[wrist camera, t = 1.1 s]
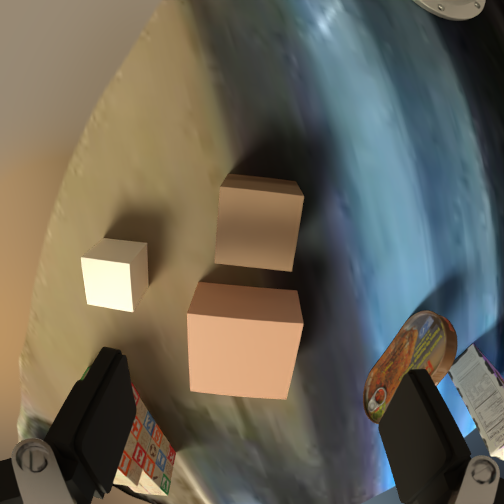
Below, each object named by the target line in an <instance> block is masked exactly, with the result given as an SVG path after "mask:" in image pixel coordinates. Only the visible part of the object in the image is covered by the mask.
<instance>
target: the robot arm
mask: <svg viewBox="0 0 504 504" xmlns="http://www.w3.org/2000/svg"><path fill="white" fill-rule="evenodd" d="M412 1H414V2H415V3H416V4H418V5H419V6H420V7H422V8H424V9H425V10H427V11H428V12H430V13H432V14H434V15H437V16H439V17H442V18H445V19H448V20H454V21H462V20H468V19H471V18H473V17H475V16H477V15H478V14H479V13H480V12H481V11H482V10H483V8H484V5H485V1H486V0H412ZM136 411H137V408H136V403H135V399H134V394H133V389H132V384H131V379H130V374H129V369H128V363H127V358H126V356H125V355H122V353H121V351H120V350H118V349H113V348H108V347H103V348H102V349H101V351H100V352H99V354H98V356H97V357H96V359H95V361H94V362H93V364H92V366H91V367H90V369H89V371H88V373H87V374H86V376H85V378H84V380H78V381H77V382H76V383H75V385H74V386H73V388H72V390H71V392H70V393H69V395H68V397H67V399H66V400H65V402H64V404H63V406H62V407H61V409H60V411H59V413H58V415H57V416H56V418H55V420H54V422H53V424H52V426H51V427H50V429H49V431H48V433H47V435H46V437H45V439H44V441H42V440H40V439H36V438H29V439H25V440H22V441H21V442H19V443H18V444H17V445H16V446H15V448H14V449H13V452H12V458H9V459H6V460H2V461H0V504H91V501H92V498H93V496H94V497H97V498H100V499H103V497H104V494H105V493H109V492H110V491H111V488H112V485H113V482H114V479H115V476H116V473H117V470H118V466H119V463H120V460H121V457H122V454H123V451H124V449H125V446H126V443H127V440H128V437H129V434H130V431H131V428H132V425H133V423H134V420H135V417H136ZM379 432H380V435H381V439H382V442H383V445H384V448H385V451H386V454H387V458H388V461H389V464H390V467H391V471H392V474H393V478H394V481H395V484H396V488H397V491H398V494H399V498H400V501H401V502H402V503H404V504H504V479H502V478H500V477H499V476H500V471H499V467H498V465H497V464H496V462H495V461H494V460H493V459H491V458H489V457H488V456H476V457H474V458H473V459H471V457H470V455H471V452H470V450H469V448H468V446H467V444H466V442H465V440H464V438H463V436H462V434H461V432H460V430H459V428H458V426H457V424H456V422H455V420H454V418H453V416H452V415H451V413H450V411H449V409H448V407H447V405H446V403H445V401H444V400H443V398H442V396H441V394H440V392H439V391H438V389H437V387H436V385H435V383H434V382H433V380H432V378H431V376H430V375H429V373H428V371H427V370H426V369H411V370H409V371H408V373H407V374H405V375H404V376H403V378H402V380H401V382H400V384H399V386H398V388H397V390H396V392H395V394H394V396H393V398H392V400H391V401H390V403H389V405H388V407H387V409H386V411H385V413H384V414H383V416H382V418H381V420H380V422H379Z"/></svg>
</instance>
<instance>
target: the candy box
mask: <svg viewBox="0 0 504 504" xmlns="http://www.w3.org/2000/svg"><path fill="white" fill-rule="evenodd" d="M448 374H449V376H450V378H451V380H452V381H453V383H454V385H455V387H456V389H457V390H458V392H459V394H460V396H461V397H462V399H463V401H464V403H465V405H466V407H467V409H468V411H469V413H470V415H471V417H472V419H473V420H474V422H475V425H476V427H477V428H478V431H479V433H480V435H481V437H482V439H483V441H484V443H485V445H486V447H487V449H488V451H489V454H490V455H491V456H495V457H497V458H499V459H501V460H504V379H503V378H502V376H501V375H500V373H499V372H498V371H497V370H496V369H495V367H494V366H493V365H492V364H491V363H490V362H489V360H488V359H487V358H486V357H485V356H484V355H483V354H482V352H481V351H480V350H479V349H478V348H477V347H476V346H475V344H474V343H473V344H472V345H471V346H470V347H469V348H467V349H466V350H465V351H464V352H463V353H462V354H461V355H460V356H459V357H458V358H457V359H455V360H454V362H453V364H452V366H451V368H450V370H449V371H448Z"/></svg>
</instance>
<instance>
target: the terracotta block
mask: <svg viewBox="0 0 504 504" xmlns="http://www.w3.org/2000/svg"><path fill="white" fill-rule="evenodd" d="M303 324H304V323H303V318H302V313H301V307H300V302H299V297H298V292H297V290H284V289H272V288H260V287H248V286H237V285H226V284H216V283H206V282H198V285H197V287H196V290H195V293H194V296H193V299H192V301H191V304H190V307H189V310H188V313H187V325H188V354H189V375H190V391H194V392H202V393H211V394H220V395H230V396H241V397H254V398H270V399H287V395H288V390H289V386H290V382H291V378H292V374H293V369H294V365H295V361H296V356H297V352H298V347H299V343H300V338H301V333H302V329H303Z"/></svg>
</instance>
